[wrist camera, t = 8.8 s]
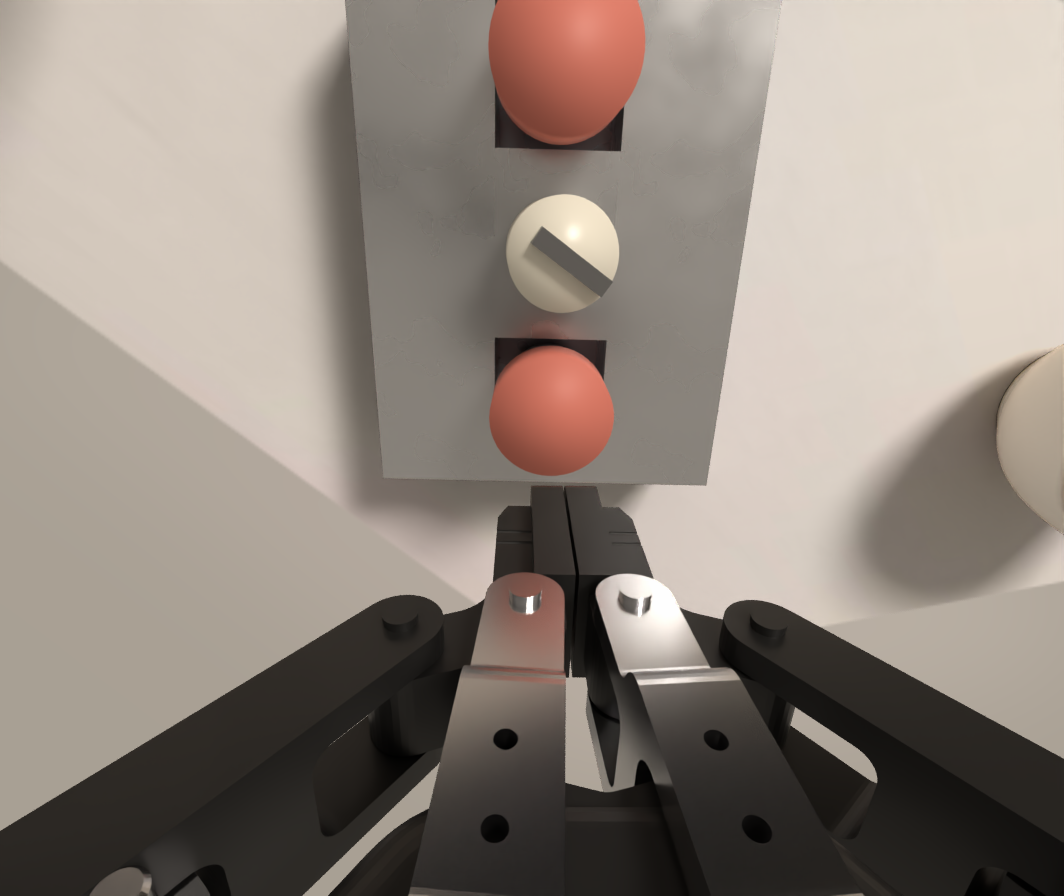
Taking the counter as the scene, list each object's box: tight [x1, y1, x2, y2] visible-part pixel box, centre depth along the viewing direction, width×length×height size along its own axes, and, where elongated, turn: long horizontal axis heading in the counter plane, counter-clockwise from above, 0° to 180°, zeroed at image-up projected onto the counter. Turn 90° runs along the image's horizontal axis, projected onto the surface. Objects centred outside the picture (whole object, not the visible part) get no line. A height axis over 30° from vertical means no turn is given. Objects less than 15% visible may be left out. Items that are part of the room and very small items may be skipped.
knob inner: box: [488, 0, 645, 145], centre depth 19 cm, size 4×4×6 cm
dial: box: [506, 194, 619, 313], centre depth 19 cm, size 4×4×4 cm
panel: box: [345, 0, 782, 486], centre depth 23 cm, size 14×19×5 cm
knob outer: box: [489, 343, 614, 476], centre depth 23 cm, size 4×4×6 cm
